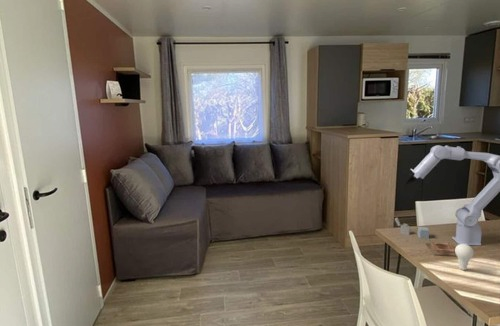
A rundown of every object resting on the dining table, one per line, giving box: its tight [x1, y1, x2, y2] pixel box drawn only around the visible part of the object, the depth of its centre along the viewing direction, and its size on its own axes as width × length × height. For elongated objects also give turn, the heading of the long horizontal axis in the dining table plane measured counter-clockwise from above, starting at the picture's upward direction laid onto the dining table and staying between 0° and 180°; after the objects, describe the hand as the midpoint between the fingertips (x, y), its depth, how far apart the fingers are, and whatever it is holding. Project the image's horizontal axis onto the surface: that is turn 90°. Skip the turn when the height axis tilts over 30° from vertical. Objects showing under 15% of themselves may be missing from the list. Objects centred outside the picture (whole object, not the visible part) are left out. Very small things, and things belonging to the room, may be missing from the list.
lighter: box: [394, 217, 411, 236], centre depth 160 cm, size 7×2×8 cm, turn 55°
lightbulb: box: [455, 244, 475, 271], centre depth 122 cm, size 6×6×11 cm
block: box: [417, 226, 430, 240], centre depth 155 cm, size 4×4×4 cm
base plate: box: [425, 242, 458, 258], centre depth 140 cm, size 11×11×2 cm
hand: (404, 187), depth 150 cm, fingers open, 7 cm apart
